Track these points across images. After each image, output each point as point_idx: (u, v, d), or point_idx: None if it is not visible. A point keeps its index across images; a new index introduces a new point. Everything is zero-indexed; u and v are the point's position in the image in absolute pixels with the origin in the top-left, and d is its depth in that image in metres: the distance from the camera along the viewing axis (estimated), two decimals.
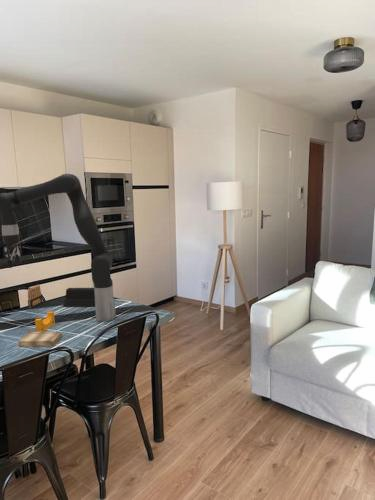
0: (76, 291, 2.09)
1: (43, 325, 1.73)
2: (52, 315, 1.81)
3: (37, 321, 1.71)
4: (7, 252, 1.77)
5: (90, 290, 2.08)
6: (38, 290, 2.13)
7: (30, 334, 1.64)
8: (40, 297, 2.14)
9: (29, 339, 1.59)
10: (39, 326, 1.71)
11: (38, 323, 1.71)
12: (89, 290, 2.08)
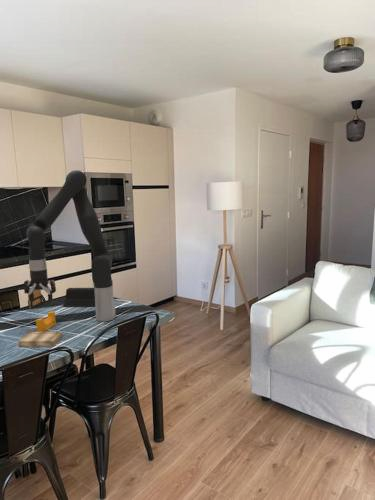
0: (76, 291, 2.09)
1: (44, 325, 1.73)
2: (53, 315, 1.81)
3: (39, 322, 1.71)
4: (54, 284, 1.75)
5: (90, 290, 2.08)
6: (38, 290, 2.13)
7: (30, 334, 1.64)
8: (40, 297, 2.14)
9: (29, 339, 1.59)
10: (40, 326, 1.71)
11: (39, 323, 1.71)
12: (89, 290, 2.08)
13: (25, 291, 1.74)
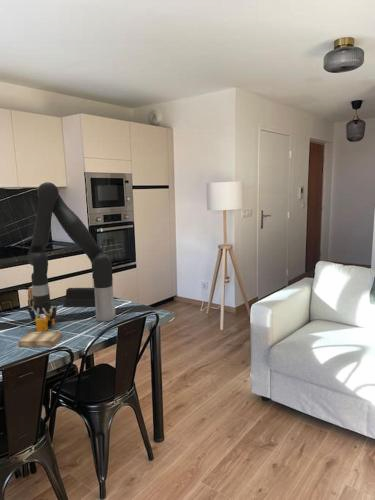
0: (76, 291, 2.09)
1: (44, 325, 1.73)
2: None
3: (38, 321, 1.71)
4: (56, 311, 1.77)
5: (90, 290, 2.08)
6: None
7: (30, 334, 1.64)
8: None
9: (29, 339, 1.59)
10: (40, 326, 1.71)
11: (39, 323, 1.71)
12: (89, 290, 2.08)
13: (32, 317, 1.76)
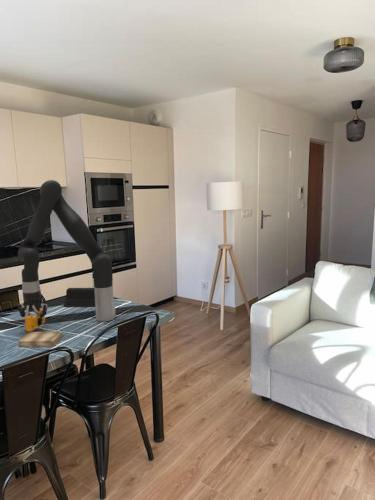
0: (76, 291, 2.09)
1: (33, 322, 1.68)
2: None
3: (27, 319, 1.66)
4: (46, 308, 1.72)
5: (90, 290, 2.08)
6: None
7: (30, 334, 1.64)
8: None
9: (29, 339, 1.59)
10: (29, 323, 1.66)
11: (28, 320, 1.66)
12: (89, 290, 2.08)
13: (21, 315, 1.71)
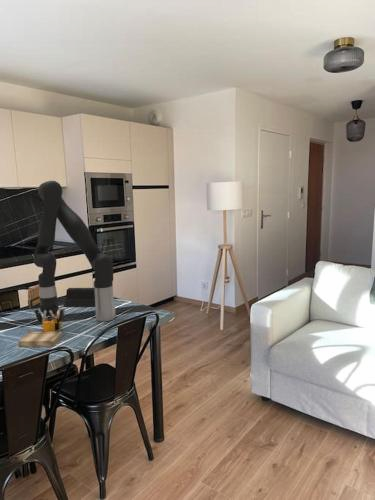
0: (76, 291, 2.09)
1: (51, 327, 1.69)
2: None
3: (45, 324, 1.66)
4: (63, 313, 1.72)
5: (90, 290, 2.08)
6: (38, 290, 2.13)
7: (30, 334, 1.64)
8: None
9: (29, 339, 1.59)
10: (47, 328, 1.66)
11: (46, 325, 1.66)
12: (89, 290, 2.08)
13: (39, 320, 1.72)
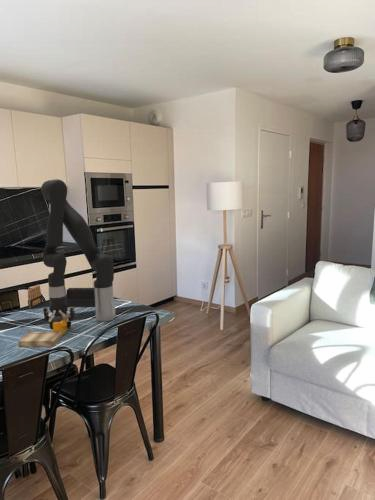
0: (76, 291, 2.09)
1: (61, 328, 1.68)
2: None
3: (55, 325, 1.66)
4: None
5: (91, 290, 2.08)
6: (38, 290, 2.13)
7: (30, 334, 1.64)
8: (40, 297, 2.14)
9: (29, 339, 1.59)
10: (57, 330, 1.66)
11: (56, 327, 1.66)
12: (90, 290, 2.08)
13: (45, 318, 1.71)
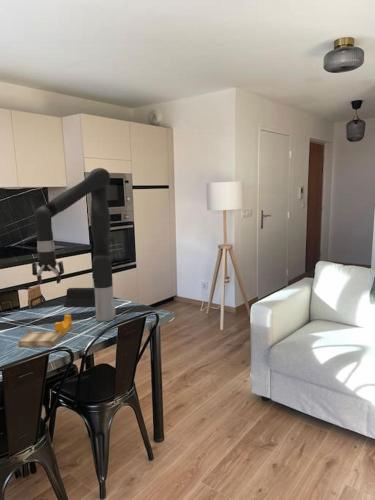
0: (76, 291, 2.09)
1: (63, 328, 1.68)
2: (69, 318, 1.76)
3: (57, 325, 1.66)
4: (62, 266, 1.75)
5: (91, 290, 2.08)
6: (38, 290, 2.13)
7: (30, 334, 1.64)
8: (40, 297, 2.14)
9: (29, 339, 1.59)
10: (59, 330, 1.66)
11: (58, 327, 1.66)
12: (90, 290, 2.08)
13: (33, 273, 1.74)
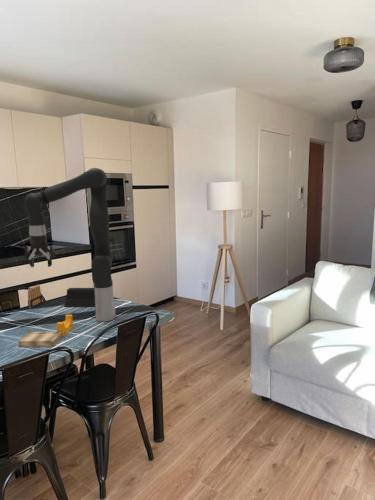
0: (76, 291, 2.09)
1: (64, 328, 1.68)
2: (71, 318, 1.76)
3: (59, 325, 1.66)
4: (54, 250, 1.82)
5: (91, 290, 2.08)
6: (38, 290, 2.13)
7: (30, 334, 1.64)
8: (40, 297, 2.14)
9: (29, 339, 1.59)
10: (61, 330, 1.66)
11: (60, 327, 1.66)
12: (90, 290, 2.08)
13: (25, 256, 1.81)
